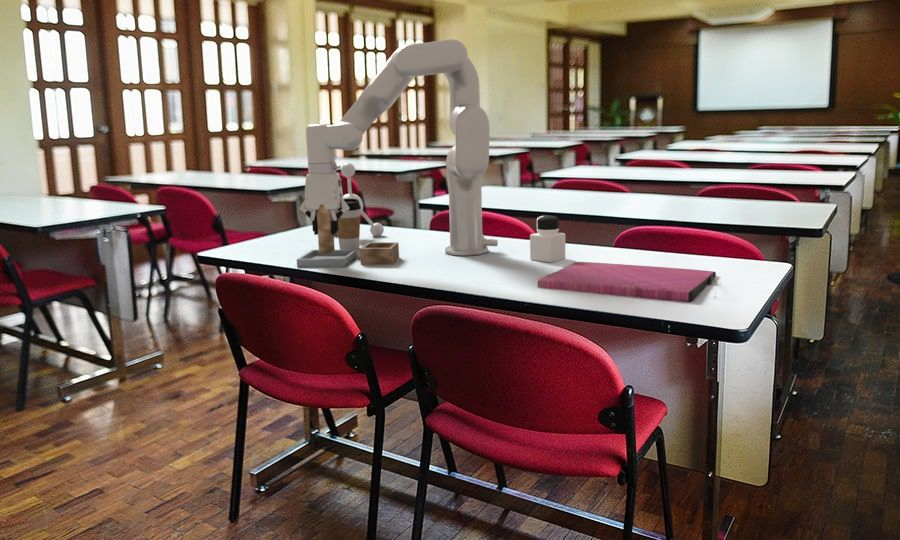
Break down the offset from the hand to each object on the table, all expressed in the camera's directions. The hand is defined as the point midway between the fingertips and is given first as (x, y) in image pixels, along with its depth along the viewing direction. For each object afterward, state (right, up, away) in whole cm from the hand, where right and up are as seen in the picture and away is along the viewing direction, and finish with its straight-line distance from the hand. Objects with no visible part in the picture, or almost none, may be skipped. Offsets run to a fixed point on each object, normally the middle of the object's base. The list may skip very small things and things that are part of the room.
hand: (325, 233), depth 218 cm
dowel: (0, -5, +1) cm, 5 cm away
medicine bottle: (+62, -8, -3) cm, 63 cm away
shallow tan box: (+15, -8, +1) cm, 17 cm away
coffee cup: (+4, -4, +20) cm, 21 cm away
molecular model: (+3, 0, +37) cm, 37 cm away
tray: (0, -8, +2) cm, 8 cm away
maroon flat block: (+80, -14, -32) cm, 87 cm away
